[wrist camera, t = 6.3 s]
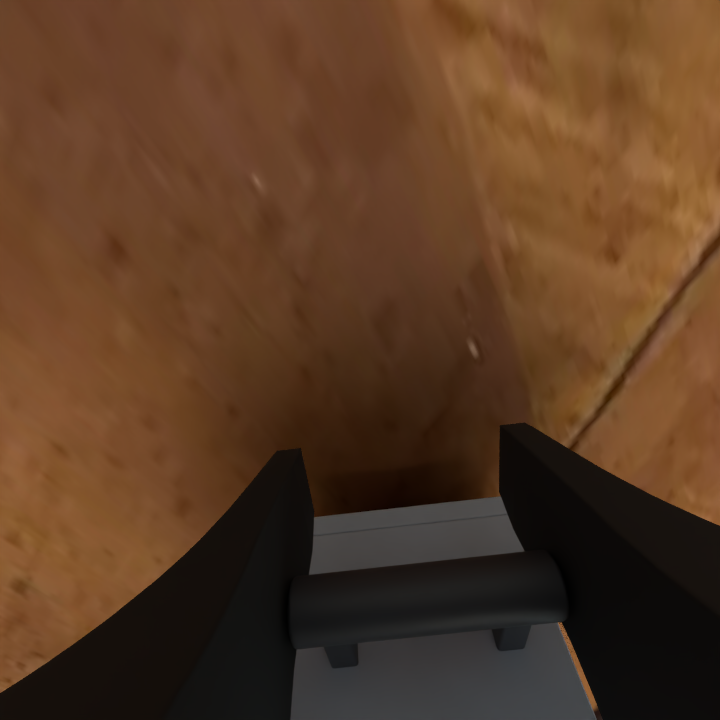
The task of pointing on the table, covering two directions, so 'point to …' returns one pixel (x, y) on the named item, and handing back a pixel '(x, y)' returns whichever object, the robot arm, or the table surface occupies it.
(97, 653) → the robot arm
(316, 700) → the handled open box
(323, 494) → the table surface
